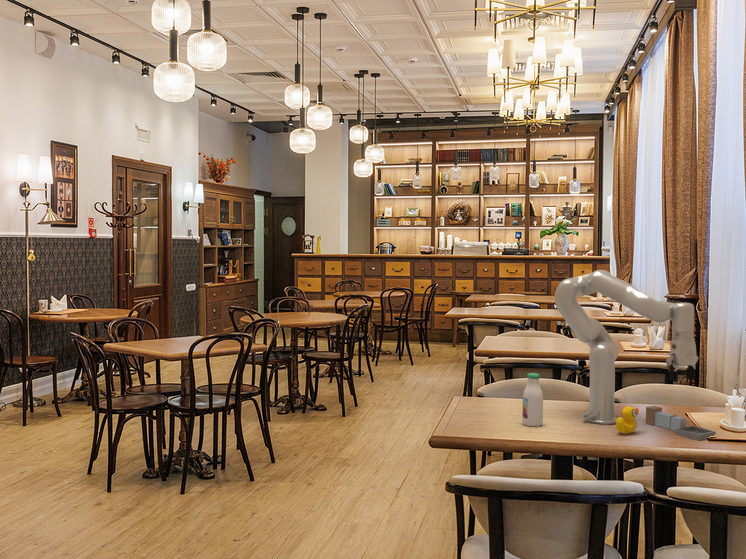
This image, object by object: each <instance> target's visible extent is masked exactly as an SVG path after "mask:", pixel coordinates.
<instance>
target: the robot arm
mask: <svg viewBox="0 0 746 559" xmlns="http://www.w3.org/2000/svg"><path fill="white" fill-rule="evenodd" d="M596 293H598V294H601V295H603V296H605V297H607V298H609V299H611V300H612V301H614V302H617V303H618V304H621V305H623V307H626V308H628V309H630V310H631V311H633V312H635V313H637V314H638V315H640V316H642V317H645V318H646V319H649V320H650V321H653V322H655V323H659V324H660V323H664V322H667V321H671V342H670V347H669V357H667V358H665V363H666V367H667V368H668V371H669V376H668V378H669V379H668V380H669V381H670V382H674V383H678V380H679V372H678V369H679V367H686V370H685V371H686V372H685V373H686V375H685V376H686V379H687V380H691V381H692V380H693V381H694V380H696V376H695V373H696V369H697V365H698V360H699V356H698V355H697V346H696V341H695V340H696V339H695V338H694V337H695V336H694V334H695V333H694V330H695V328H694V324H695V305H694V304H693V303H690V302H668V301H664V300H663V301H658V300H656V299H654V298H652V297H650V296H648V295H647V294H644V293H642V292H641V291H640V290H638V288H636V287H635V286H634V285H633V284H632V283H629V282H626V281H624V280H622V279H620V278H618V277H617V276H614V275H612V274H611V273H610V272H609V271H608V270H605V269H597V270H594V271H593V272H590V273H585V274H582V275H578V276H575V277H568V278H565V279H563V280H562V281H560V282H559V284H558V285H557V287H556V289H555V292H554V303H555V306H556V309H557V311H558V312H559V314H560V316H561V317H562V318H563V319H564V321H565V322H566V324H567V325H568V327H569V328H570V330H571V331H572V332H573V334H574V335H575V337H576V338H577V340H578V341H580V342H581V343H584V344H587V345H588V347H589V348H590V350H589V354H588V363H589V400H588V402H589V403H588V404H589V406H588V407H589V408H587V411H586V412H585V411H584V412H581V413H580V417H581V418H583V419H584V420H586V421H587V422H589V423H594V424H598V423H599V424H601V425H612V424H616V420H617V418H618V417H617V416H615V390H616V389H615V388H616V387H615V386H616V382H615V381H616V380H615V379H616V374H615V373H616V369H615V361H616V360H617V358H618V357H619V353H620V351H619V347H618V345H617V344H616V342H615V340H614V339H613V338H612V336H611V335H610V334H609V332H608V331H607V329H606V328H605V327H604V325H602V323H601V322H600V321H599V320H598V319H595V318H591V317H590V316H589V315H588V314H587V312H586V311H585V309H584V308H583V307H582V306H581V304H580V303H579V302H578V298H580V297H584V296H588V295H592V294H596ZM599 424H598V425H599Z"/></svg>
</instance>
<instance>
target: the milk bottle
mask: <svg viewBox="0 0 746 559" xmlns="http://www.w3.org/2000/svg"><path fill="white" fill-rule="evenodd" d="M540 385H541V384H540V374H539V373H537V372H535V373H534V372H530V373H527V384H526V386H525V388H524V390H523V395H522V397H523V398H522V424H523V425H524V426H526V425H527V427H534V426H536V427H541V426H540V425H542V426H543V421H544V420H543V419H544V393H543V390H542V387H541V386H540Z"/></svg>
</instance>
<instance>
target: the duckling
mask: <svg viewBox="0 0 746 559" xmlns="http://www.w3.org/2000/svg"><path fill="white" fill-rule="evenodd" d="M638 414H639V408H638V407H636V408H635V407H633V406H630V405H628V406H624V407H623V409H622V410H621V416H622V417H621V416H619V417H616V418H617V420H616V423H615V428H616V431H617V432H619V433H620V434H624V435H628V434H632V433H634V431H635V430H636V428H637V422H636V420H635V419H636V417H637V416H638Z"/></svg>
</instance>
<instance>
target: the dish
mask: <svg viewBox="0 0 746 559" xmlns="http://www.w3.org/2000/svg"><path fill="white" fill-rule="evenodd" d="M716 433H717V431H715V430H712V429H707V428H704V427H699V426H695V425H688V426H687V425H686V427H681V428H676V429H675V431H674V434H675V435H677V436H681V437H684V438H687V437H688V438H689V439H691V440H695V441H703V440H708V437H710V436H714V435H716V436H717V434H716Z"/></svg>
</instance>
